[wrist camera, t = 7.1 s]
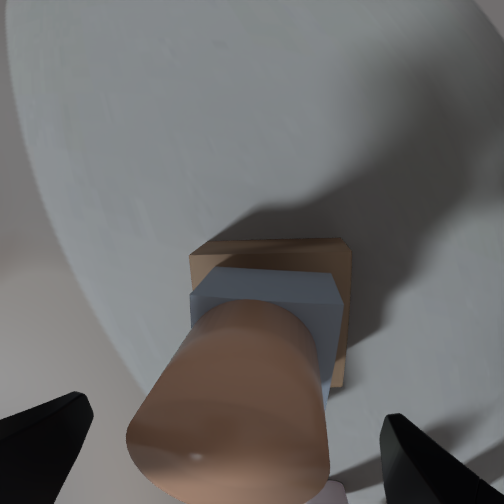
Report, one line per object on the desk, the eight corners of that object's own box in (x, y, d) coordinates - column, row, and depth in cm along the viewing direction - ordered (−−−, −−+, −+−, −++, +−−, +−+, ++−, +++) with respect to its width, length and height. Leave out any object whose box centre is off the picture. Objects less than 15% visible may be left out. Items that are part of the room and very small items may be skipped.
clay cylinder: (318, 296, 9) (340, 399, 5) (315, 407, 10) (321, 516, 6) (177, 299, 10) (99, 385, 5) (197, 405, 11) (156, 502, 6)
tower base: (339, 236, 16) (352, 251, 12) (334, 351, 17) (342, 386, 14) (209, 240, 17) (188, 255, 13) (220, 352, 18) (206, 385, 15)
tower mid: (331, 273, 13) (343, 304, 9) (318, 370, 14) (323, 419, 11) (214, 266, 13) (189, 294, 10) (216, 363, 14) (197, 408, 11)
